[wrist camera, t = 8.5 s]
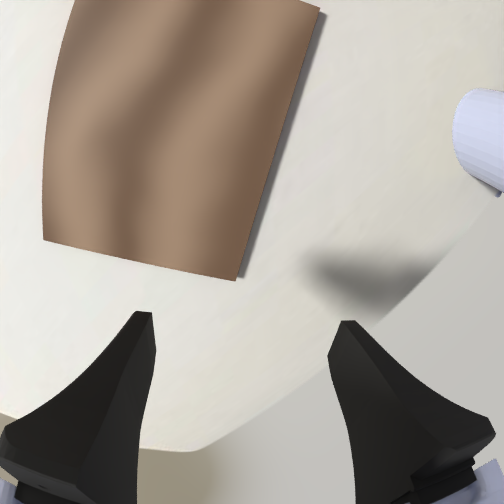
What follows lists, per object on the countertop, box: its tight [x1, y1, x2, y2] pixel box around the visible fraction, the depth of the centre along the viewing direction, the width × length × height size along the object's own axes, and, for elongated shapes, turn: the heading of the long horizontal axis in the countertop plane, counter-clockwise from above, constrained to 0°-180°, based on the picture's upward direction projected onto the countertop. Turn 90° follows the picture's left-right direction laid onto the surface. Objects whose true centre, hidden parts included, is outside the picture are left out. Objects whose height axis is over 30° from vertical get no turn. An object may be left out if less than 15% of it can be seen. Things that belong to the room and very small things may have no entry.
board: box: [42, 0, 320, 281], centre depth 15 cm, size 14×18×1 cm
